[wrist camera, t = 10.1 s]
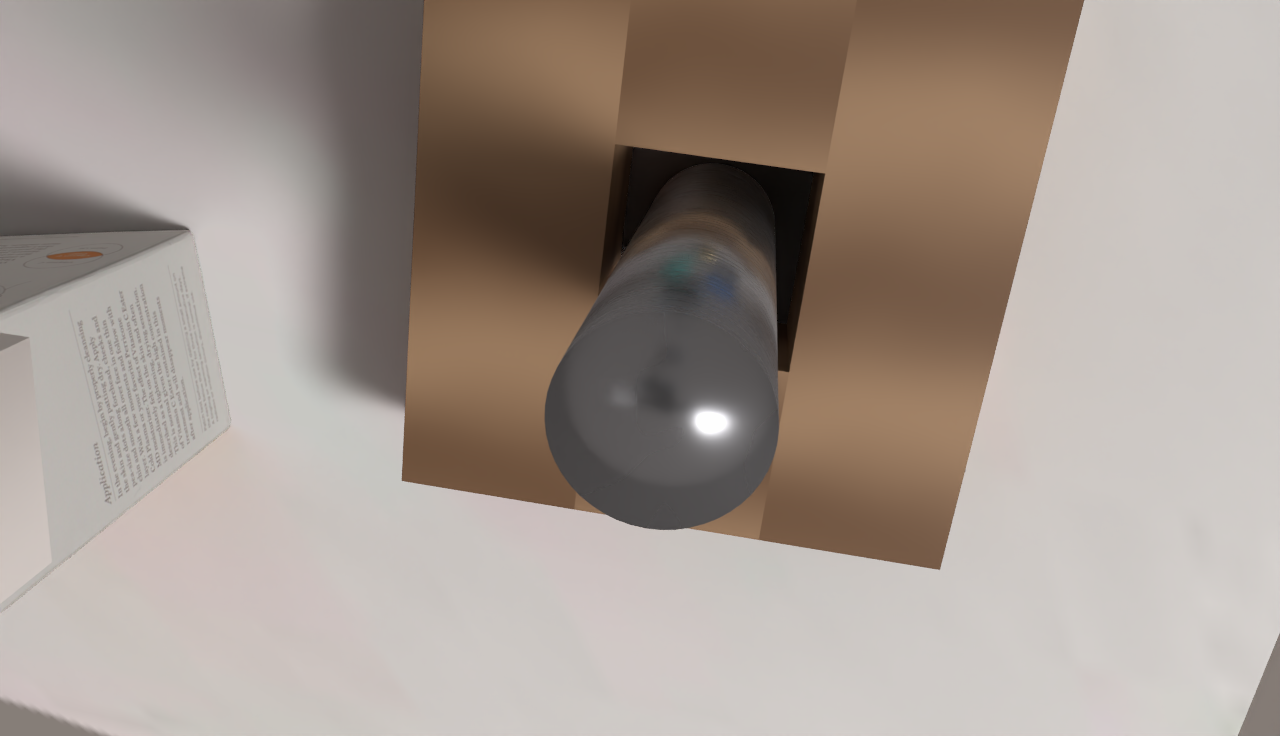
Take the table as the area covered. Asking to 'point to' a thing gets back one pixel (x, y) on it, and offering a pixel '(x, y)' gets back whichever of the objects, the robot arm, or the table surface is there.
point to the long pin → (677, 361)
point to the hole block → (830, 248)
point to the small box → (111, 369)
